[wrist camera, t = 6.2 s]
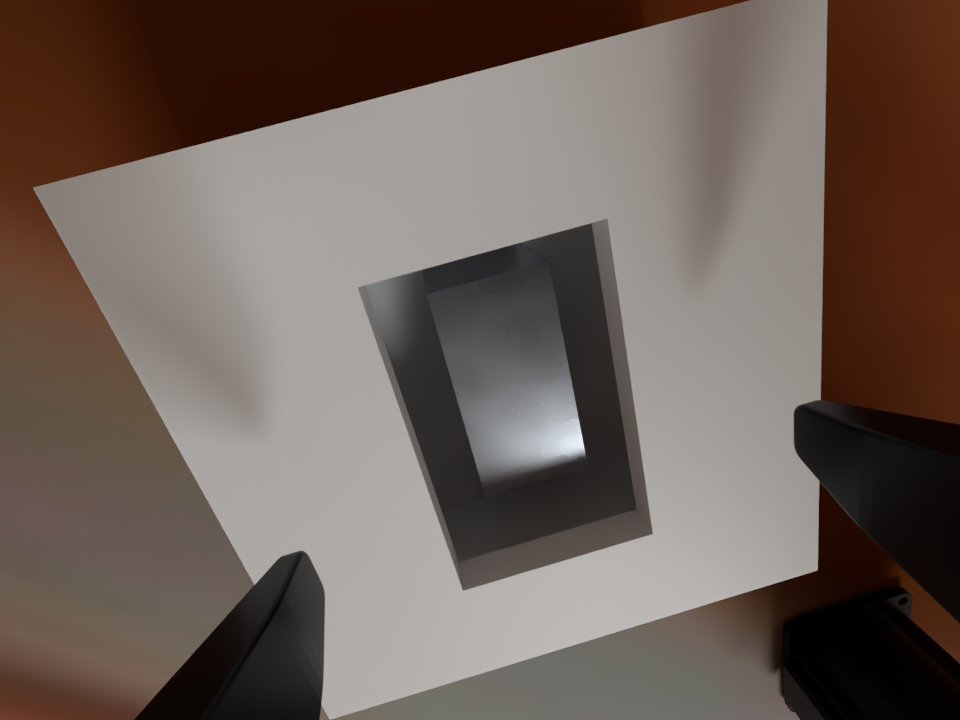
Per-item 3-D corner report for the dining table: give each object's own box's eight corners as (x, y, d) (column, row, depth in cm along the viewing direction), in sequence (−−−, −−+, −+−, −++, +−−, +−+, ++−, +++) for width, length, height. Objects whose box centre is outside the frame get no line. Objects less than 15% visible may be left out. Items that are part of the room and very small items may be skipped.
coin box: (649, 57, 15) (827, -20, 9) (688, 443, 21) (818, 570, 14) (194, 177, 15) (33, 188, 8) (353, 541, 20) (329, 719, 14)
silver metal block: (514, 238, 16) (548, 260, 12) (550, 405, 18) (588, 467, 14) (421, 263, 16) (426, 294, 12) (468, 428, 18) (485, 497, 14)
